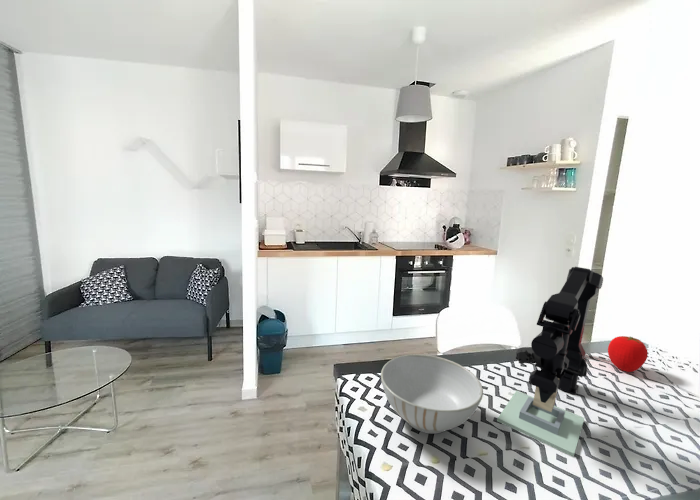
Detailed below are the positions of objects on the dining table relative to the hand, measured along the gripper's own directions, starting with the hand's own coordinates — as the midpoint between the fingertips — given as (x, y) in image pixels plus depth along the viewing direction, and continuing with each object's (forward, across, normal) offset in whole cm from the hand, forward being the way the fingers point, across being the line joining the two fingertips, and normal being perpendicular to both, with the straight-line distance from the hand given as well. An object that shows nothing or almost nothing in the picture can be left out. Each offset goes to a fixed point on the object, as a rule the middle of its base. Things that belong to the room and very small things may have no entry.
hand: (545, 397), depth 93 cm
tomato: (+8, -55, +16) cm, 58 cm away
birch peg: (+2, 0, 0) cm, 2 cm away
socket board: (+7, 0, 0) cm, 7 cm away
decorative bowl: (+7, +22, -24) cm, 33 cm away
